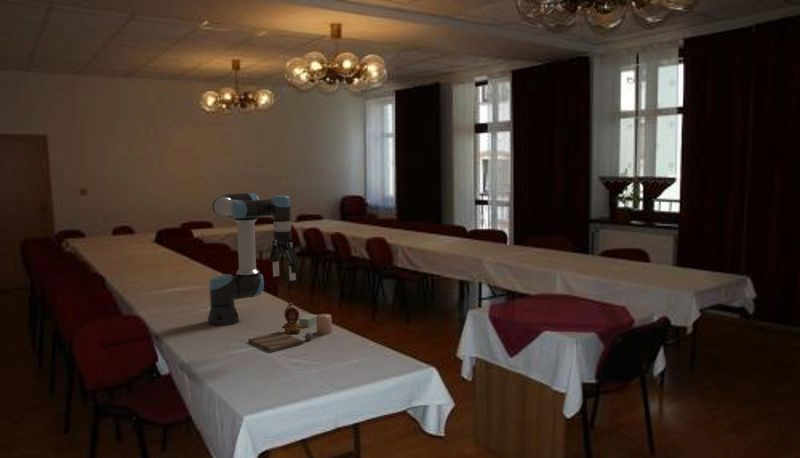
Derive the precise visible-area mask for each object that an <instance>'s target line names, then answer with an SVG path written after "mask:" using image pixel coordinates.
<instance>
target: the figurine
mask: <svg viewBox="0 0 800 458" xmlns="http://www.w3.org/2000/svg"><path fill="white" fill-rule="evenodd" d="M284 318H285V321H286V323H284V324H283V325H282V326H281V328H282V329H284V334H287V335H291V334H292V335H293V334H297V335H299V334H300V331H301V329H302V328H303V327H304V326H301V324H299V318H300V310H299V309H298V308H297V307H296V306H295V305H294V304H293V302H289V303H288V304H287V306H286V307H285V310H284Z"/></svg>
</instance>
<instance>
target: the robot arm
mask: <svg viewBox="0 0 800 458" xmlns="http://www.w3.org/2000/svg"><path fill="white" fill-rule="evenodd" d="M211 205H212V206H211V207H212V211H213V212H214V214H215V215H217V216H219V217H222V218H233V220H234V222H235V223H236V225H237V226H236V227H237V246H238V247H237V251H238V253H237V255H238V269H237V270H236V273H235V274H236V275H235V276H234V275H233V274H230V273H228V274H221V275H217V276H214V277H212V278H211V279H210V280H209V284H208V285H209V288H208V289H209V298H210V299H209V301H210V309H209V311H208V312H209V313H208V315H207V324H209V325H211V326H226V325H232V324H235V323H237V322H239V321H240V319H239V312H238V311H237V309H236V306H235V300H240V299H242V300H243V299H246V298H255V297H259V296H260V295H261V294H262V293H263V291H264V285H265V280H264V276H263V274H262V273H260V270H258V268H257V259H256V258H257V256H256V255H257V254H256V252H257V251H256V226H255V223H256V221H258V218H259V217H260V218H262V217H263V218H264V217H272V218H273V219H272V221H273V225H272V226H273V230H274V231H273V239H274V240H272V243H271V244H272V246H271V250H270V255H269V260H270V261H271V262H272V277H273V278H274V277H280V262H279V258H280V256H281V254H282V253H283V254H285V257H286V260H287V262H288V263H289V265H288V273H289V274H288V275H289V281H296V280H297V275H296V272H297V271H296V269H297V265H299V260H298V255H297V253H296V250H295V249H296V248H295V244H294V242H290V240H291V239H292V231H291V230H292V222H291V200H290V196H288V195H284V194H283V195H274V196H273V197H272V198H267V199H260V198H259V196H258V195H257V194H256V193H253V192H251V193H250V192H244V193H243V192H242V193H241V192H239V193H227V194H226V193H225V194H221V195H219V196H218V197H216V198H215V199H214V200H213V202H212V204H211Z"/></svg>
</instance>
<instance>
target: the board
mask: <svg viewBox="0 0 800 458" xmlns="http://www.w3.org/2000/svg"><path fill="white" fill-rule="evenodd" d="M247 340H248V343H249V344H251V345H254V346H257V347H258V348H260V349H263V350H265V351H267V352H269V353H274V352H275V353H276V352H278V351H283V350H286V349H290V348H293V347H298V346H301V345H304V340H303V339H299V338H298V337H296V336H295V337H294V336H292V335H291V334H289V335H287V334H286V333H285V332H281V331H276V332H272V333H267V334H264V335H260V336H255V337H249V338H248V339H247Z"/></svg>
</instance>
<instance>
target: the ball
mask: <svg viewBox="0 0 800 458" xmlns="http://www.w3.org/2000/svg"><path fill="white" fill-rule="evenodd" d="M313 338H314V337H313V333H312V332H306V333H305V335H304V339H306V340H307V341H311V340H312V339H313Z"/></svg>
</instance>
